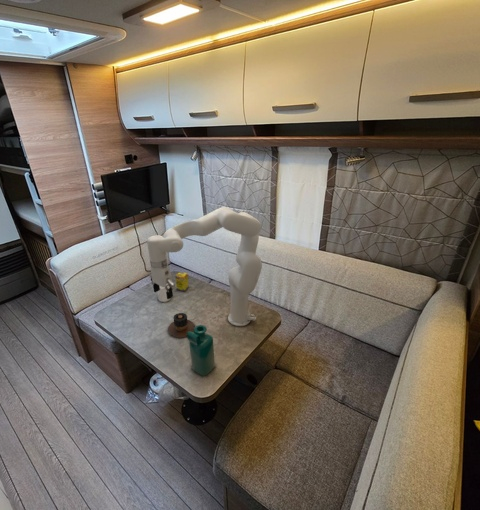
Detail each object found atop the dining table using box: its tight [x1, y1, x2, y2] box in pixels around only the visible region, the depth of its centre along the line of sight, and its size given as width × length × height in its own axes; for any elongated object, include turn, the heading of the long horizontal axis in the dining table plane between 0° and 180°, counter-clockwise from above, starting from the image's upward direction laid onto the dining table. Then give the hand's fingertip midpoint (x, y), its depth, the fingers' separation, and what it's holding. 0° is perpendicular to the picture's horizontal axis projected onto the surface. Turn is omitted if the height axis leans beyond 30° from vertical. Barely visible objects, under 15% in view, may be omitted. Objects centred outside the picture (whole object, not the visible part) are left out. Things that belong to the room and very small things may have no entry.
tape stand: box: [167, 315, 196, 339], centre depth 148 cm, size 14×14×8 cm
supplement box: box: [175, 271, 189, 292], centre depth 185 cm, size 6×6×11 cm
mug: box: [156, 283, 172, 303], centre depth 176 cm, size 12×8×10 cm
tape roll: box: [172, 312, 188, 327], centre depth 147 cm, size 7×7×4 cm
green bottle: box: [186, 324, 216, 377], centre depth 120 cm, size 10×8×22 cm
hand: (163, 294), depth 134 cm, fingers open, 9 cm apart
